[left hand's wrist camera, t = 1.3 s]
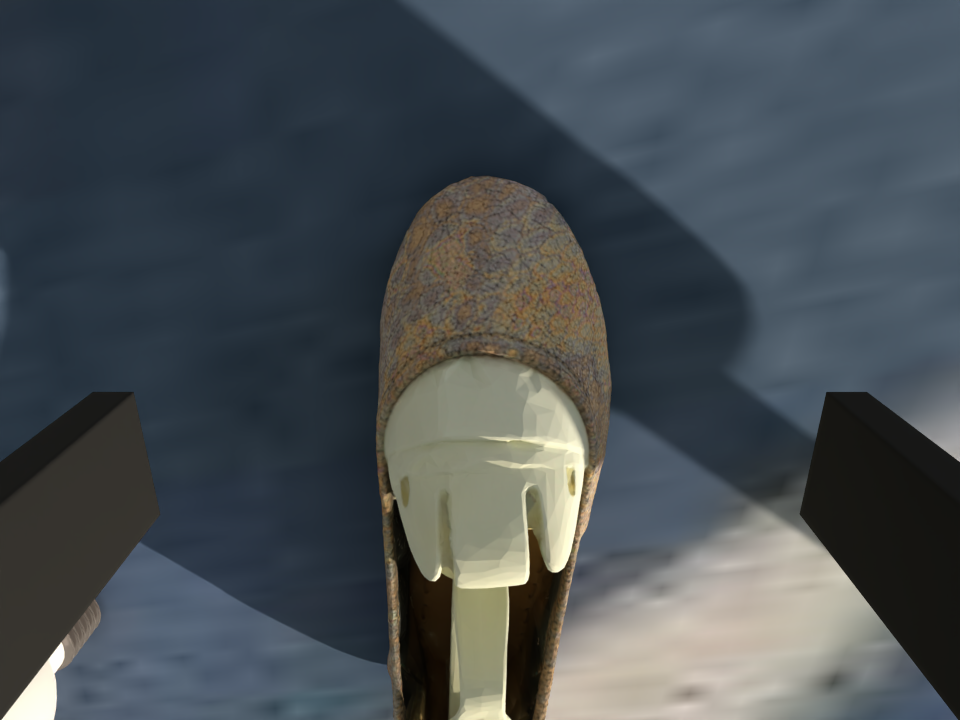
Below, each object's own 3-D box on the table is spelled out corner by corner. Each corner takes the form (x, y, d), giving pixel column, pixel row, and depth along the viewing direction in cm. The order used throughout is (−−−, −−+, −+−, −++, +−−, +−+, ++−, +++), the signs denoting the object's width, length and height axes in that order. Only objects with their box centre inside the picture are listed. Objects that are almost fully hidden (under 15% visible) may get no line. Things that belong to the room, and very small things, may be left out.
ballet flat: (619, 170, 21) (692, 211, 14) (577, 710, 31) (607, 914, 23) (366, 170, 21) (298, 210, 14) (400, 708, 31) (371, 911, 23)
